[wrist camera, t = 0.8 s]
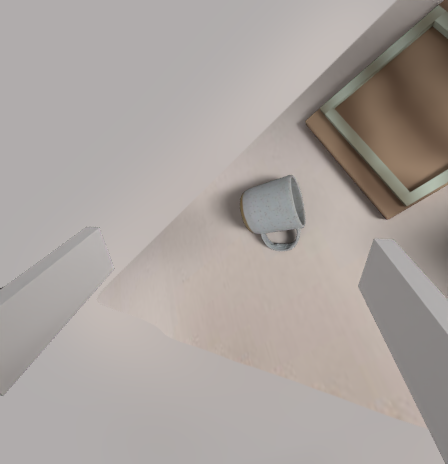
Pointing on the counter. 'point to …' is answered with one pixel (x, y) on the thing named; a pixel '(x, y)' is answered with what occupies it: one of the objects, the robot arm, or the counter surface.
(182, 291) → the counter surface
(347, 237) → the counter surface
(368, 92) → the board
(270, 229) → the ceramic mug
